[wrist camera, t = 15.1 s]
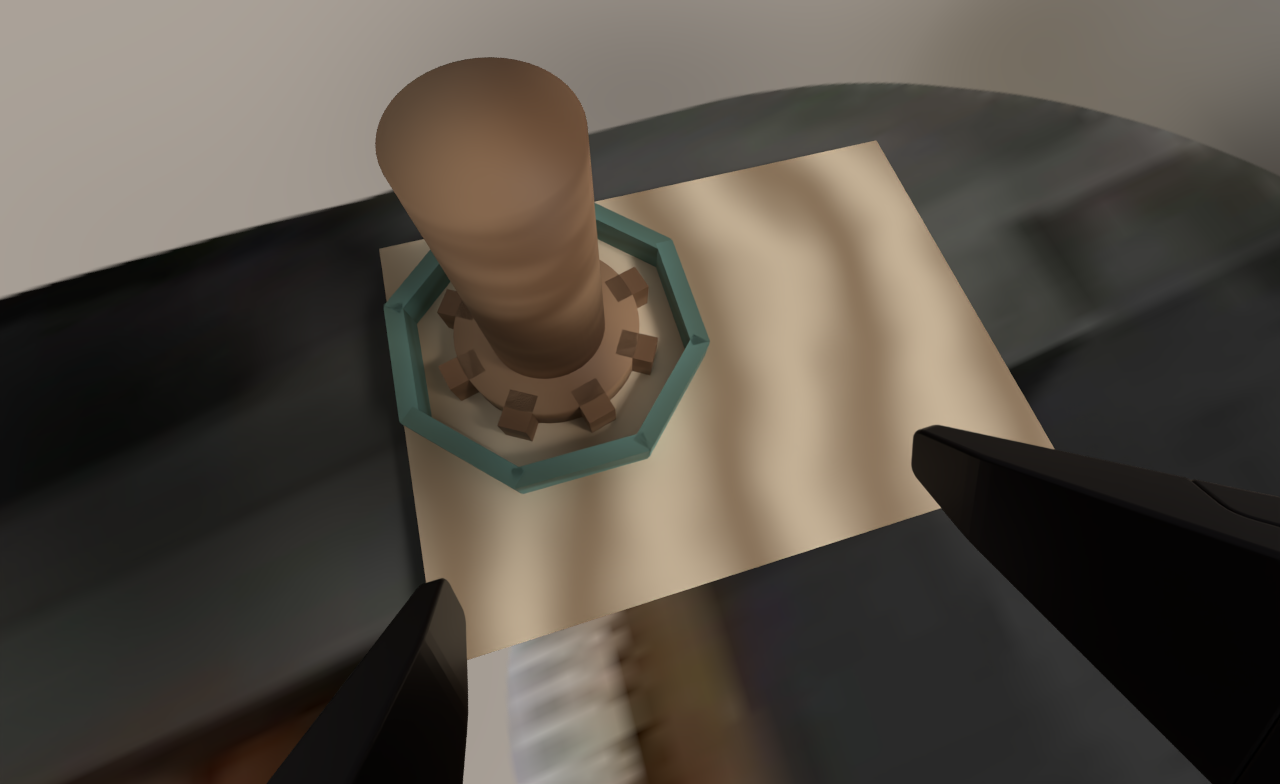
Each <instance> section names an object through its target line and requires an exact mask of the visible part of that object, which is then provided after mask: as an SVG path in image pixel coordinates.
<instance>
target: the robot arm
mask: <svg viewBox="0 0 1280 784" xmlns="http://www.w3.org/2000/svg"><path fill="white" fill-rule="evenodd" d="M911 467H912V471H913V473H914V475H915V477H916V478H917V480H918V481H919V482H920V483H921V484H922V486H923V487H924V488H925V489H926V490H927V492H928V493H929V494H930V495H931V496H932V498H933V499H934V500H935V501H936V502H937V504H938V505H939V506H940V507H941V508H942V510H943V511H944V512H945V513H946V514H947V516H948V517H949V518H950V519H951V520H952V522H953V523H954V524H955V525H956V526H957V528H958V529H959V530H960V531H961V532H962V533H963V535H964V536H965V537H966V538H967V539H968V540H969V541H970V542H971V543H972V544H973V545H974V547H975V548H976V549H977V550H978V551H979V552H980V553H981V554H982V555H983V556H984V557H985V558H986V559H987V560H988V561H989V562H990V563H991V564H992V565H993V566H994V567H995V568H996V569H997V570H998V571H999V572H1000V573H1001V574H1002V575H1003V576H1004V577H1005V578H1006V579H1007V580H1008V581H1009V582H1010V583H1011V584H1012V585H1013V586H1014V587H1015V588H1016V589H1017V590H1018V591H1019V592H1020V593H1021V594H1022V595H1023V596H1024V597H1025V598H1026V599H1027V600H1028V601H1029V602H1030V603H1031V604H1032V605H1033V606H1034V607H1035V608H1036V609H1037V610H1038V611H1039V612H1040V613H1041V614H1042V615H1043V616H1044V617H1045V618H1046V619H1047V620H1048V621H1049V622H1050V623H1051V624H1052V625H1053V626H1054V627H1055V628H1056V629H1057V630H1058V631H1059V632H1060V633H1061V634H1062V635H1063V636H1064V637H1065V638H1066V639H1067V640H1068V641H1069V642H1070V643H1071V644H1072V645H1073V646H1074V647H1076V648H1077V649H1078V650H1079V651H1080V652H1081V653H1082V654H1083V655H1084V656H1085V657H1086V658H1087V659H1088V660H1089V661H1090V662H1091V663H1092V664H1093V665H1094V666H1095V667H1096V668H1097V669H1098V670H1099V671H1100V672H1101V673H1102V674H1103V675H1104V676H1105V677H1106V678H1107V679H1108V680H1109V681H1110V682H1111V683H1112V684H1113V685H1114V686H1115V687H1116V688H1117V689H1118V690H1119V691H1120V692H1121V693H1122V694H1123V695H1124V696H1125V697H1126V698H1127V699H1128V700H1129V701H1130V702H1131V703H1132V704H1133V705H1134V706H1135V707H1136V708H1137V709H1138V710H1139V711H1140V712H1141V713H1142V714H1143V715H1144V716H1145V717H1146V718H1147V719H1148V720H1149V721H1150V722H1151V723H1152V724H1153V725H1154V726H1155V727H1156V728H1157V729H1158V730H1159V731H1160V732H1161V733H1162V734H1163V735H1164V736H1165V737H1166V738H1167V739H1168V740H1169V741H1170V742H1171V743H1172V744H1173V745H1174V746H1175V747H1176V748H1177V749H1178V750H1179V751H1180V752H1181V753H1182V754H1183V755H1184V756H1185V757H1186V758H1187V759H1188V760H1189V761H1190V762H1191V763H1192V764H1193V765H1194V766H1195V767H1196V768H1197V769H1198V770H1199V771H1200V772H1201V773H1202V774H1203V775H1204V776H1205V777H1206V778H1207V779H1208V780H1209V781H1210V782H1211V783H1212V784H1280V497H1278V496H1273V495H1268V494H1263V493H1258V492H1253V491H1248V490H1243V489H1238V488H1234V487H1229V486H1224V485H1219V484H1215V483H1210V482H1205V481H1201V480H1196V479H1194V480H1190V479H1188V478H1186V477H1181V476H1177V475H1172V474H1167V473H1163V472H1158V471H1153V470H1148V469H1144V468H1139V467H1134V466H1130V465H1125V464H1120V463H1116V462H1111V461H1106V460H1102V459H1097V458H1092V457H1087V456H1083V455H1078V454H1073V453H1069V452H1064V451H1059V450H1055V449H1050V448H1045V447H1041V446H1036V445H1031V444H1027V443H1022V442H1017V441H1012V440H1008V439H1003V438H998V437H994V436H989V435H984V434H980V433H975V432H970V431H966V430H961V429H956V428H951V427H947V426H942V425H931V426H928V427H925V428H922V429H919V430H917V431H916V432H915V433H914V435H913V443H912V457H911ZM467 722H468V679H467V640H466V619H465V614H464V611H463V608H462V606H461V604H460V602H459V600H458V598H457V597H456V595H455V593H454V591H453V589H452V587H451V585H450V583H449V582H448V581H447V580H446V579H444V578H440V579H437V580H433V581H430V582H427V583H424V584H422V585H420V586H419V587H418V588H417V589H416V591H415V592H414V593H413V594H412V596H411V597H410V598H409V600H408V601H407V602H406V604H405V605H404V606H403V607H402V609H401V610H400V611H399V613H398V614H397V615H396V617H395V618H394V619H393V620H392V622H391V623H390V624H389V626H388V627H387V628H386V629H385V631H384V632H383V633H382V635H381V636H380V637H379V639H378V640H377V641H376V642H375V644H374V645H373V646H372V648H371V649H370V650H369V652H368V653H367V654H366V655H365V657H364V658H363V659H362V661H361V662H360V663H359V665H358V666H357V667H356V668H355V670H354V671H353V672H352V674H351V675H350V676H349V677H348V679H347V680H346V681H345V683H344V684H343V685H342V687H341V688H340V689H339V690H338V692H337V693H336V694H335V696H334V697H333V698H332V700H331V701H330V702H329V703H328V705H327V706H326V707H325V709H324V710H323V711H322V713H321V714H320V715H319V716H318V718H317V719H316V720H315V722H314V723H313V724H312V725H311V727H310V728H309V729H308V731H307V732H306V733H305V735H304V736H303V737H302V738H301V740H300V741H299V742H298V744H297V745H296V746H295V748H294V749H293V750H292V751H291V753H290V754H289V755H288V757H287V758H286V759H285V761H284V762H283V763H282V764H281V766H280V767H279V768H278V770H277V771H276V772H275V773H274V775H273V776H272V777H271V779H270V780H269V781H268V783H267V784H463V773H464V761H465V749H466V737H467Z"/></svg>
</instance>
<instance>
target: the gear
mask: <svg viewBox="0 0 1280 784" xmlns="http://www.w3.org/2000/svg"><path fill="white" fill-rule="evenodd" d="M375 144H376V155H377V159H378V163H379V166H380V168H381V170H382V173H383V175H384V176H385V177H386V179H387V181H388V183H389V184H390V186H391V187H392V189H393V191H394V192H395V194H396V195H397V197H398V199H399V200H400V202H401V203H402V205H403V207H404V208H405V210H406V211H407V213H408V214H409V216H410V218H411V219H412V221H413V222H414V224H415V226H416V227H417V229H418V230H419V232H420V234H421V235H422V237H423V238H424V240H425V242H426V243H427V245H428V246H429V248H430V250H431V251H432V253H433V254H434V256H435V258H436V259H437V261H438V262H439V264H440V266H441V267H442V269H443V270H444V272H445V274H446V275H447V277H448V278H449V280H450V282H451V283H452V285H453V286H454V288H455V290H456V291H454V290H450V289H447V290H446V292H445V295H444V297H443V299H442V302H441V304H440V306H439V309H438V311H437V313H438V314H439V316H440V317H441V318H442V320H443V321H444V322H445V324H446V325H447V326H448V328H451V329H454V332H453V339H454V348H455V352H456V355H457V357H456V358H454V359H452V360H450V361H448V362H446V363H444V364H442V365H440V366H438V367H439V369H440V371H441V373H442V375H443V377H444V379H445V381H446V383H447V385H448V387H449V389H450V390H451V391H452V392H453V393H454V394H455V395H456V396H457V397H458V398H459V399H460V400H461V401H463V400H465V399H467V398H469V397H470V396H472V395H474V394H476V393H478V392H480V393H481V394H482V395H483V397H484V398H485V399H486V400H487V401H489V402H490V403H491V404H492V405H493V406H494V407H496V408H497V409H499V410H501V411H502V414H501V416H500V419H499V422H498V425H497V426H498V427H499V428H500V429H501V430H502V431H503V432H504V433H505V434H506V435H508V436H513V437H517V438H521V439H525V440H529V441H533V439H534V436H535V433H536V430H537V427H538V424H539V423H561V422H566V421H571V420H574V419H577V418H580V417H583V418H584V420H585V422H586V423H587V425H588V427H589V428H590V430H591V432H592V433H593V432H595V431H596V430H598V429H600V428H602V427H603V426H605V425H607V424H609V423H610V422H612V421H614V420H616V411H615V408H614V406H613V404H612V403H611V401H610V400H611V399H612V398H613V397H614V396H615V395H616V394H617V393H618V392H619V391H620V390H621V389H622V387H623V386H624V384H625V383H626V381H627V380H628V378H629V376H630V374H631V372H632V371H634V372H638V373H642V374H646V375H650V374H651V370H652V367H653V363H654V359H655V355H656V350H657V343H658V338H657V337H653V336H649V335H644V334H640V333H639V325H640V324H639V314H638V309H637V308H639V307H641V306H643V305H645V304H647V302H648V289H649V286H648V285H647V283H646V282H645V280H644V279H643V277H642V276H641V275H640V273H639V272H638V270H637V269H636V267H633V268H631V269H629V270H627V271H625V272H623V273H621V274H618V273H617V272H615V271H614V270H613V269H612V268H611V267H610V266H608V265H607V264H606V263H604V262H603V261H601V260H599V250H598V239H597V228H596V216H595V205H594V194H593V183H592V172H591V161H590V149H589V138H588V127H587V120H586V116H585V112H584V110H583V107H582V105H581V103H580V101H579V100H578V98H577V97H576V95H575V94H574V92H573V91H572V90H571V89H570V88H569V87H568V86H567V85H566V84H565V83H564V82H563V81H562V80H560V79H559V78H558V77H556V76H554V75H553V74H551V73H550V72H548V71H546V70H544V69H542V68H540V67H538V66H535V65H532V64H530V63H526V62H522V61H518V60H513V59H507V58H494V57H493V58H492V57H488V58H473V59H465V60H461V61H457V62H452V63H449V64H446V65H443V66H440V67H438V68H435V69H433V70H431V71H429V72H427V73H425V74H423V75H421V76H420V77H418V78H416V79H415V80H414V81H412V82H411V83H409V84H408V85H407V86H406V87H404V88H403V89H402V90H401V91H400V92H399V93H398V94H397V95H396V96H395V97H394V99H393V100H392V101H391V102H390V104H389V105H388V107H387V108H386V110H385V111H384V113H383V115H382V117H381V120H380V122H379V125H378V129H377V133H376V143H375Z"/></svg>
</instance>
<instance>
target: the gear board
mask: <svg viewBox="0 0 1280 784" xmlns="http://www.w3.org/2000/svg"><path fill="white" fill-rule="evenodd" d="M594 205H595V216H596V228H597V239H598V250H599V260H601V261H603V262H604V263H606V264H607V265H608V266H610V267H611V268H612V269H613V270H614V271H615V272H617V273H618V274H621V273H623V272H625V271H627V270H629V269H631V268H633V267H636V269H637V270H638V272H639V273H640V275H641V276H642V277H643V279H644V280H645V282H646V283H647V285H648V286H649V289H648V302H647V304H645V305H643V306H641V307H639V308H637V309H638V314H639V324H640V325H639V333H640V334H644V335H649V336H653V337H657V338H658V343H657V350H656V355H655V359H654V363H653V367H652V370H651V374H650V375H646V374H642V373H638V372H634V371H632V372H631V374H630V376H629V378H628V380H627V381H626V383H625V384H624V386H623V387H622V389H621V390H620V391H619V392H618V393H617V394H616V395H615V396H614V397H613V398H612V399H611V400H610V401H611V403H612V404H613V406H614V408H615V411H616V420H614V421H612V422H610V423H609V424H607V425H605V426H603V427H602V428H600V429H598V430H596V431H595V432H593V433H592V432H591V430H590V428H589V427H588V425H587V423H586V422H585V420H584V418H583V417H580V418H577V419H574V420H571V421H566V422H561V423H539V424H538V427H537V430H536V433H535V436H534V439H533V441H529V440H525V439H521V438H517V437H513V436H508V435H506V434H505V433H504V432H503V431H502V430H501V429H500V428H499V427H498V426H497V425H498V422H499V419H500V416H501V414H502V411H501V410H499V409H497V408H496V407H494V406H493V405H492V404H491V403H490V402H489V401H487V400H486V399H485V398H484V397H483V395H482V394H481V393H480V392H478V393H476V394H474V395H472V396H470V397H469V398H467V399H465V400H463V401H461V400H460V399H459V398H458V397H457V396H456V395H455V394H454V393H453V392H452V391H451V390H450V389H449V387H448V385H447V383H446V381H445V379H444V377H443V375H442V373H441V371H440V369H439V367H438V366H440V365H442V364H444V363H446V362H448V361H450V360H452V359H454V358H456V357H457V355H456V352H455V348H454V339H453V332H454V329H451V328H448V326H447V325H446V324H445V322H444V321H443V320H442V318H441V317H440V316H439V314H438V313H437V311H438V309H439V306H440V304H441V302H442V299H443V297H444V295H445V292H446V290H447V289H450V290H454V291H456V290H455V288H454V286H453V285H452V283H451V282H450V280H449V278H448V277H447V275H446V274H445V272H444V270H443V269H442V267H441V266H440V264H439V262H438V261H437V259H436V258H435V256H434V254H433V253H432V251H431V250H430V248H429V246H428V245H427V243H426V242H425V240H424V239H422V240H418V241H413V242H409V243H404V244H399V245H395V246H390V247H386V248H381V249H379V251H380V258H381V265H382V272H383V279H384V286H385V293H386V300H387V302H386V303H385V305H384V314H385V321H386V329H387V336H388V343H389V350H390V358H391V365H392V372H393V380H394V387H395V394H396V401H397V409H398V416H399V422H400V423H401V424H403V425H404V429H405V436H406V443H407V450H408V457H409V464H410V471H411V478H412V486H413V493H414V500H415V507H416V514H417V521H418V528H419V535H420V542H421V550H422V557H423V564H424V571H425V578H426V583H427V582H430V581H433V580H437V579H440V578H444V579H446V580H447V581H448V582H449V583H450V585H451V587H452V589H453V591H454V593H455V595H456V597H457V598H458V600H459V602H460V604H461V606H462V608H463V611H464V614H465V619H466V640H467V660H469V659H472V658H475V657H478V656H481V655H485V654H488V653H491V652H494V651H497V650H500V649H503V648H506V647H509V646H513V645H516V644H519V643H522V642H525V641H528V640H531V639H534V638H537V637H541V636H544V635H547V634H550V633H553V632H556V631H559V630H562V629H566V628H569V627H572V626H575V625H578V624H581V623H584V622H587V621H590V620H594V619H597V618H600V617H603V616H606V615H609V614H612V613H615V612H618V611H622V610H625V609H628V608H631V607H634V606H637V605H640V604H643V603H646V602H650V601H653V600H656V599H659V598H662V597H665V596H668V595H671V594H674V593H678V592H681V591H684V590H687V589H690V588H693V587H696V586H699V585H703V584H706V583H709V582H712V581H715V580H718V579H721V578H724V577H727V576H731V575H734V574H737V573H740V572H743V571H746V570H749V569H752V568H755V567H759V566H762V565H765V564H768V563H771V562H774V561H777V560H780V559H783V558H787V557H790V556H793V555H796V554H799V553H802V552H805V551H808V550H812V549H815V548H818V547H821V546H824V545H827V544H830V543H833V542H836V541H840V540H843V539H846V538H849V537H852V536H855V535H858V534H861V533H864V532H868V531H871V530H874V529H877V528H880V527H883V526H886V525H889V524H892V523H896V522H899V521H902V520H905V519H908V518H911V517H914V516H917V515H920V514H924V513H927V512H930V511H933V510H936V509H939V508H941V507H940V506H939V505H938V504H937V502H936V501H935V500H934V499H933V498H932V496H931V495H930V494H929V493H928V492H927V490H926V489H925V488H924V487H923V486H922V484H921V483H920V482H919V481H918V480H917V478H916V477H915V475H914V473H913V471H912V467H911V457H912V443H913V435H914V433H915V432H916V431H917V430H919V429H922V428H925V427H928V426H931V425H942V426H947V427H951V428H956V429H961V430H966V431H970V432H975V433H980V434H984V435H989V436H994V437H998V438H1003V439H1008V440H1012V441H1017V442H1022V443H1027V444H1031V445H1036V446H1041V447H1045V448H1050V449H1054V447H1053V446H1052V444H1051V442H1050V440H1049V439H1048V437H1047V435H1046V434H1045V432H1044V430H1043V428H1042V427H1041V425H1040V423H1039V421H1038V420H1037V418H1036V416H1035V414H1034V413H1033V411H1032V409H1031V408H1030V406H1029V404H1028V402H1027V401H1026V399H1025V397H1024V395H1023V394H1022V392H1021V390H1020V389H1019V387H1018V385H1017V383H1016V382H1015V380H1014V378H1013V376H1012V375H1011V373H1010V371H1009V369H1008V368H1007V366H1006V364H1005V363H1004V361H1003V359H1002V357H1001V356H1000V354H999V352H998V350H997V349H996V347H995V345H994V344H993V342H992V340H991V338H990V337H989V335H988V333H987V331H986V330H985V328H984V326H983V324H982V323H981V321H980V319H979V318H978V316H977V314H976V312H975V311H974V309H973V307H972V305H971V304H970V302H969V300H968V298H967V297H966V295H965V293H964V292H963V290H962V288H961V286H960V285H959V283H958V281H957V279H956V278H955V276H954V274H953V273H952V271H951V269H950V267H949V266H948V264H947V262H946V260H945V259H944V257H943V255H942V253H941V252H940V250H939V248H938V247H937V245H936V243H935V241H934V240H933V238H932V236H931V234H930V233H929V231H928V229H927V228H926V226H925V224H924V222H923V221H922V219H921V217H920V215H919V214H918V212H917V210H916V208H915V207H914V205H913V203H912V202H911V200H910V198H909V196H908V195H907V193H906V191H905V189H904V188H903V186H902V184H901V182H900V181H899V179H898V177H897V176H896V174H895V172H894V170H893V169H892V167H891V165H890V163H889V162H888V160H887V158H886V157H885V155H884V153H883V151H882V150H881V148H880V146H879V144H878V143H877V141H872V142H867V143H863V144H858V145H854V146H849V147H844V148H840V149H835V150H831V151H826V152H822V153H817V154H812V155H808V156H803V157H799V158H794V159H789V160H785V161H780V162H776V163H771V164H766V165H762V166H757V167H753V168H748V169H744V170H739V171H734V172H730V173H725V174H721V175H716V176H711V177H707V178H702V179H698V180H693V181H688V182H684V183H679V184H675V185H670V186H666V187H661V188H656V189H652V190H647V191H643V192H638V193H633V194H629V195H624V196H620V197H615V198H610V199H606V200H601V201H597V202H594Z"/></svg>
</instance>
